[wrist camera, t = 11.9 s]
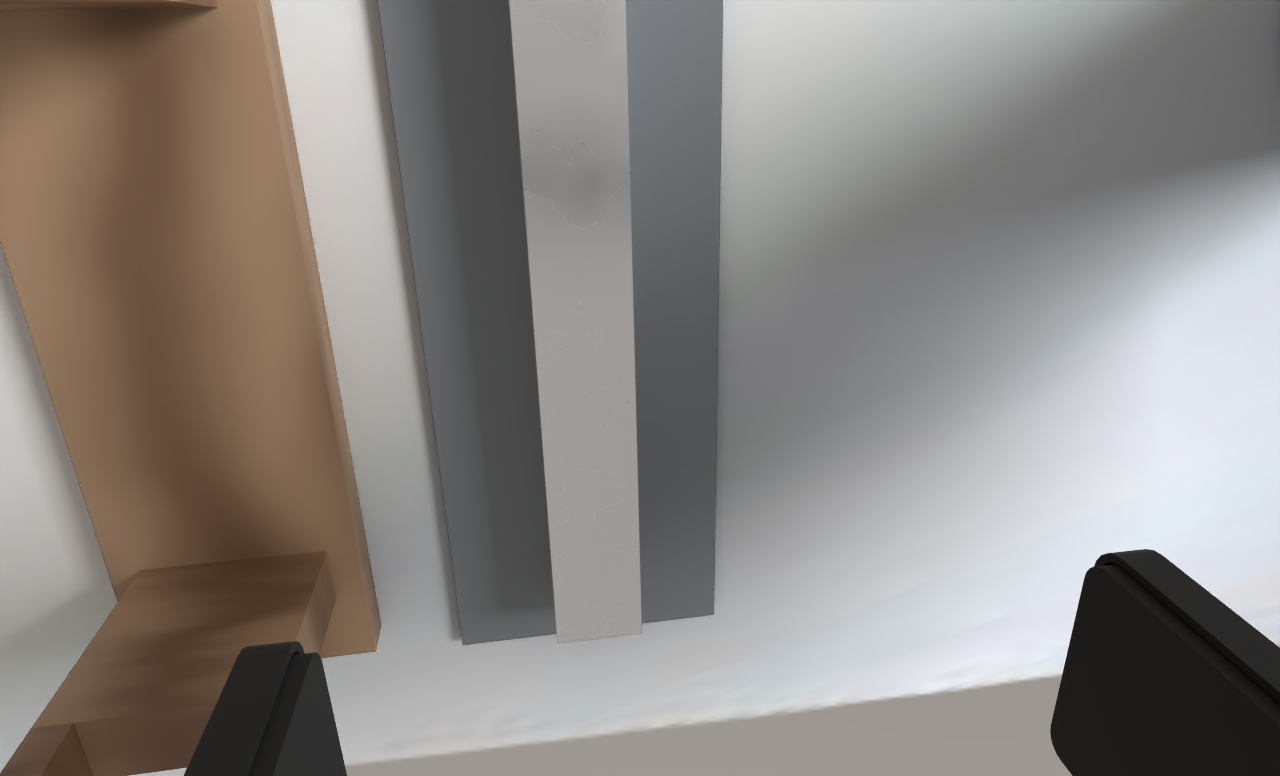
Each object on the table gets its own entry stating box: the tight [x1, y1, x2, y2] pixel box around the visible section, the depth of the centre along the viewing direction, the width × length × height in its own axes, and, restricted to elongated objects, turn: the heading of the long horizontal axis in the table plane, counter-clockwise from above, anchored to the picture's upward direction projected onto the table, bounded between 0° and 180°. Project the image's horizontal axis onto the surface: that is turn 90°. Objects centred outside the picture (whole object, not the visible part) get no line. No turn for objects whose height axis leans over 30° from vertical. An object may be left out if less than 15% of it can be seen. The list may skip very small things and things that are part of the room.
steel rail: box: [508, 0, 642, 643], centre depth 26 cm, size 3×24×3 cm, turn 1°
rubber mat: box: [378, 0, 723, 645], centre depth 27 cm, size 10×28×1 cm, turn 1°
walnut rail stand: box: [0, 0, 381, 776], centre depth 21 cm, size 8×26×11 cm, turn 1°
